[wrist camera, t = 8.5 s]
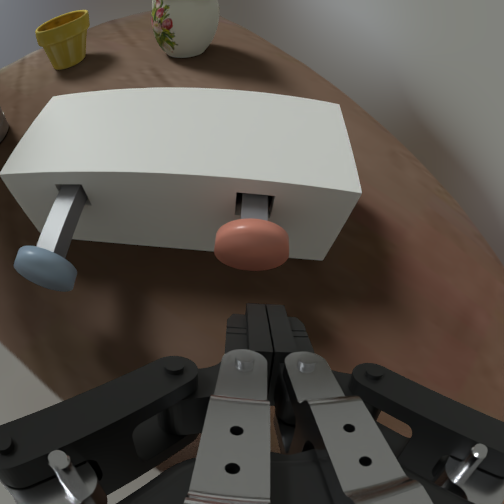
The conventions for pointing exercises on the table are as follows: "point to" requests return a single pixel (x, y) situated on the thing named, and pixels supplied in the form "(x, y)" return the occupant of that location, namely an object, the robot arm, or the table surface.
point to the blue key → (54, 243)
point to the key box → (188, 165)
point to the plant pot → (64, 38)
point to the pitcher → (184, 25)
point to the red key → (252, 238)
